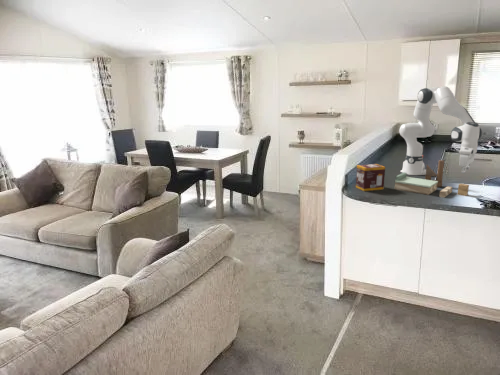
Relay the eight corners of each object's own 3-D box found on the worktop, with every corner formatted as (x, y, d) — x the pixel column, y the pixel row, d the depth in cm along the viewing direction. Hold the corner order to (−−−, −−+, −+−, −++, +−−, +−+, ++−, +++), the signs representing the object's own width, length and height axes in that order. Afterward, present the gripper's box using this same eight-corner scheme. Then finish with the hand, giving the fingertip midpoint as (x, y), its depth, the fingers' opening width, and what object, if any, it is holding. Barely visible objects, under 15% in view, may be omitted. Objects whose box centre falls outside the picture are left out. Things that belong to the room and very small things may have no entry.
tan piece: (403, 184, 272) (403, 178, 271) (451, 192, 253) (452, 185, 251) (394, 189, 261) (395, 182, 260) (444, 197, 241) (445, 190, 240)
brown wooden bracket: (424, 184, 272) (427, 159, 267) (441, 186, 267) (444, 160, 263) (424, 185, 269) (427, 159, 264) (441, 187, 264) (444, 161, 260)
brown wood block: (459, 193, 250) (460, 183, 248) (467, 194, 247) (469, 184, 245) (457, 194, 247) (458, 184, 245) (466, 196, 244) (467, 186, 242)
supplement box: (355, 187, 267) (356, 165, 263) (375, 185, 271) (376, 163, 267) (363, 191, 257) (364, 168, 253) (383, 189, 261) (385, 166, 257)
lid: (403, 177, 271) (404, 172, 270) (437, 182, 257) (438, 176, 256) (394, 182, 260) (395, 176, 259) (430, 187, 245) (430, 181, 244)
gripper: (467, 146, 249) (464, 167, 253) (458, 151, 234) (455, 173, 238) (478, 147, 245) (475, 168, 249) (470, 152, 230) (466, 175, 234)
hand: (465, 171), depth 243 cm, fingers open, 8 cm apart
